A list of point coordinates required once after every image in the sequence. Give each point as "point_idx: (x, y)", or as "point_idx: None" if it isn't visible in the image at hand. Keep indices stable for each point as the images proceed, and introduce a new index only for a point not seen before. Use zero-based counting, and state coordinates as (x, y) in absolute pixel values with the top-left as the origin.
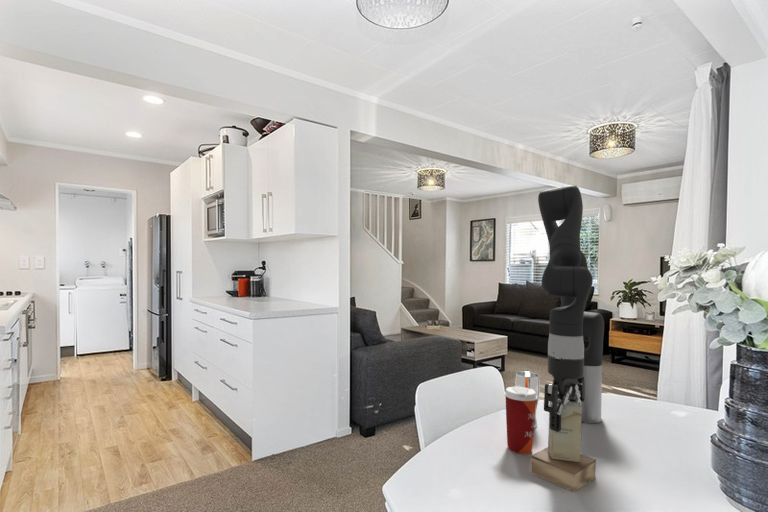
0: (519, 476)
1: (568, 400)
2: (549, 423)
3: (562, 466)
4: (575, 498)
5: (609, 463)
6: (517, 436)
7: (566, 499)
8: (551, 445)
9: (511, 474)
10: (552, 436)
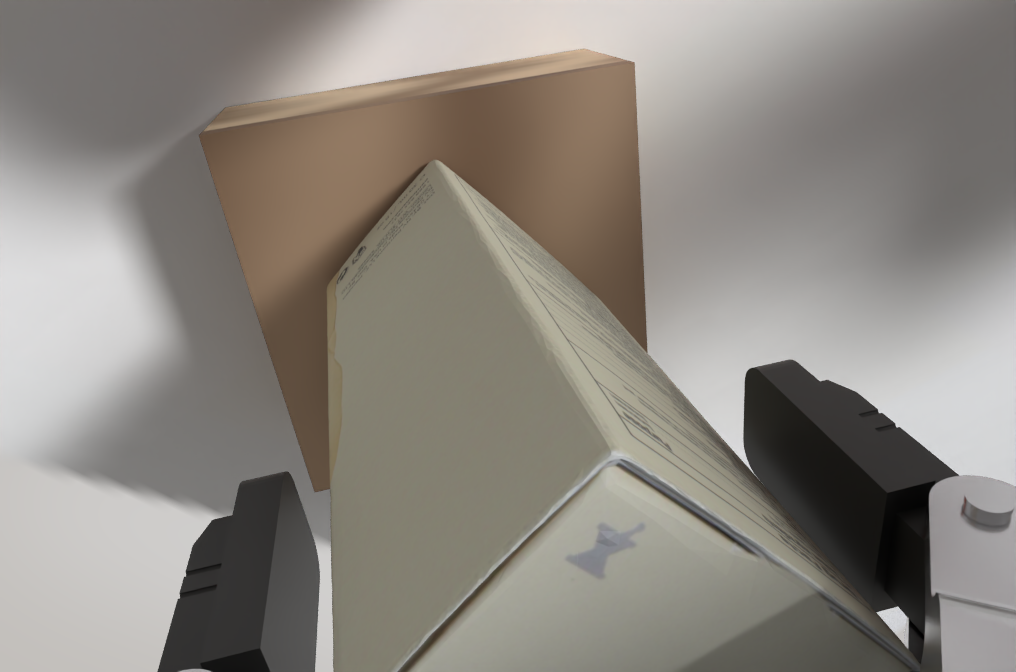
0: (80, 99)
1: (926, 555)
2: (446, 298)
3: (307, 403)
4: (262, 463)
5: (866, 271)
6: None
7: (196, 453)
8: (335, 322)
9: (26, 35)
10: (328, 386)
